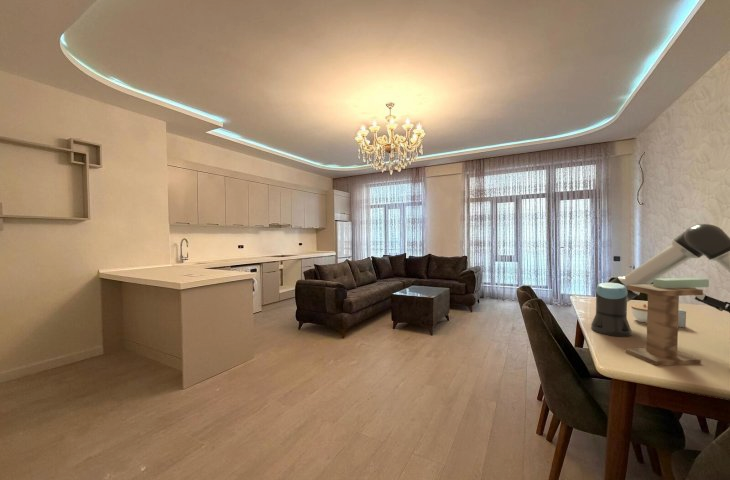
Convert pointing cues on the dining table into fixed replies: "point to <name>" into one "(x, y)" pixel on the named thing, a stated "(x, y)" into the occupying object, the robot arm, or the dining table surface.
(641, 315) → the lidded jar
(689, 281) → the sage bar
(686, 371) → the dining table surface
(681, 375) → the dining table surface
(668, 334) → the walnut stand
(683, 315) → the medicine box
